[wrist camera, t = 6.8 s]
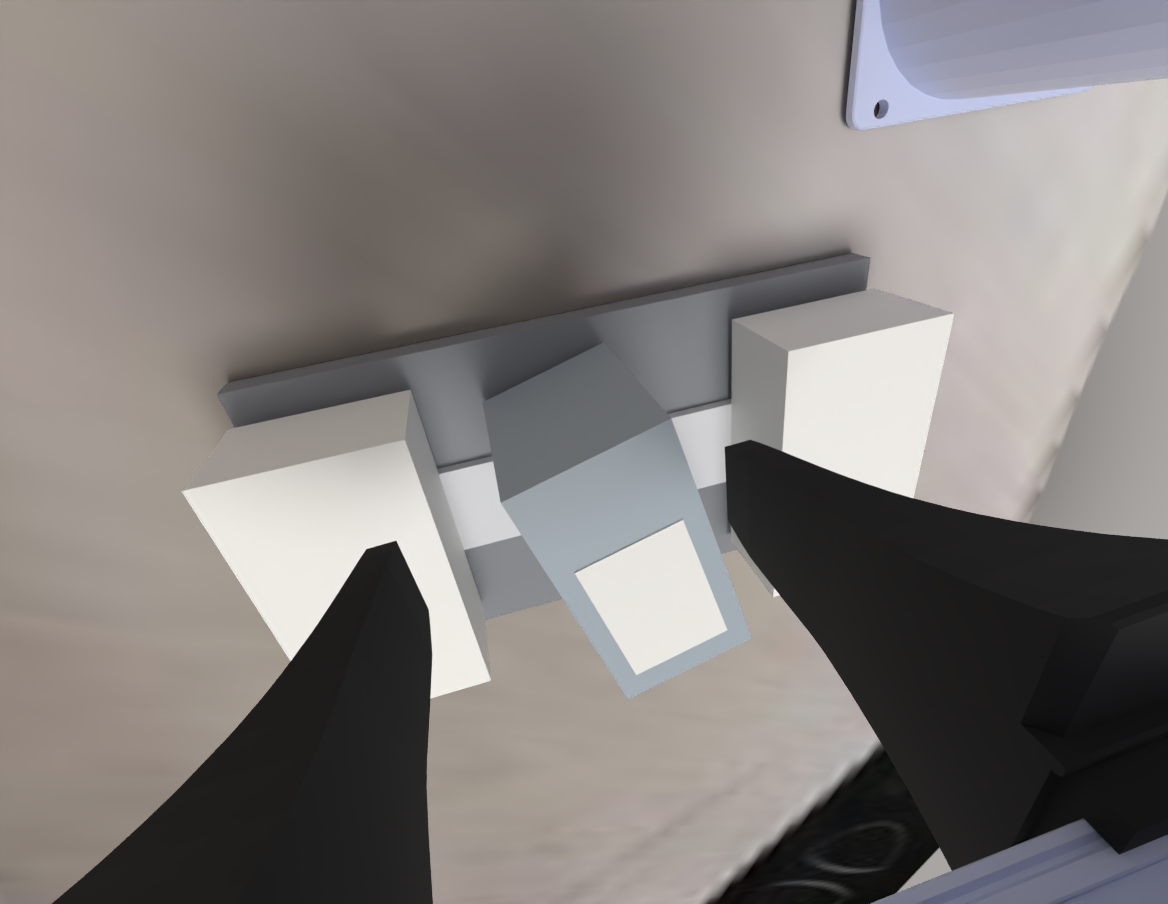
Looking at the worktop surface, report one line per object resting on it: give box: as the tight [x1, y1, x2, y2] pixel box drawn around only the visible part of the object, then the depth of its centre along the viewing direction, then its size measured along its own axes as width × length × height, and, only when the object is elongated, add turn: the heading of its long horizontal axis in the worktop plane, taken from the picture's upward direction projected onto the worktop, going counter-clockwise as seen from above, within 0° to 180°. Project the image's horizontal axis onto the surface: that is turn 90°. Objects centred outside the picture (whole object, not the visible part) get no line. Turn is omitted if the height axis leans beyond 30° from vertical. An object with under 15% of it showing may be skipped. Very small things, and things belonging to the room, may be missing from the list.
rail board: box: [182, 253, 954, 698], centre depth 19 cm, size 22×12×5 cm, turn 98°
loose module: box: [482, 342, 752, 699], centre depth 18 cm, size 4×9×6 cm, turn 23°
